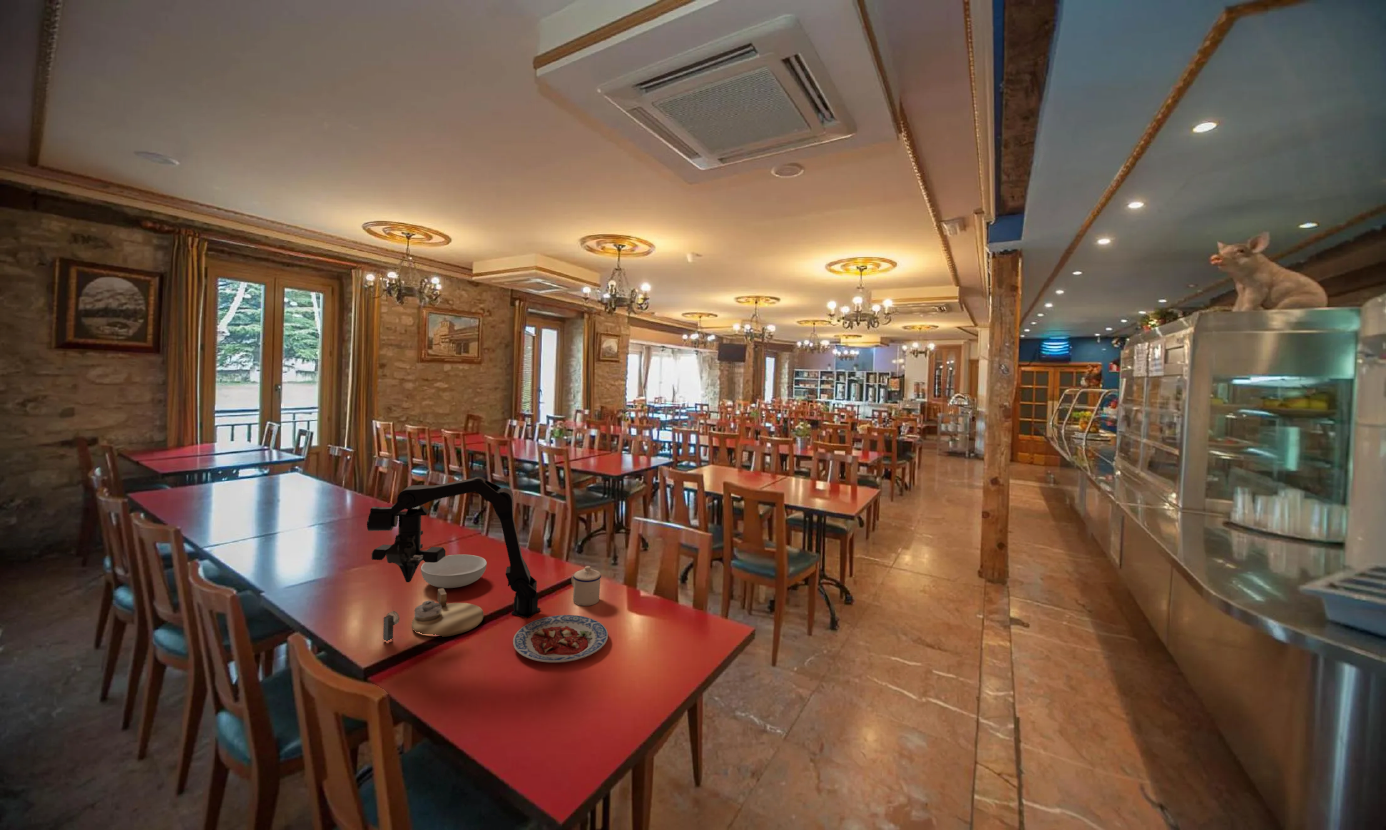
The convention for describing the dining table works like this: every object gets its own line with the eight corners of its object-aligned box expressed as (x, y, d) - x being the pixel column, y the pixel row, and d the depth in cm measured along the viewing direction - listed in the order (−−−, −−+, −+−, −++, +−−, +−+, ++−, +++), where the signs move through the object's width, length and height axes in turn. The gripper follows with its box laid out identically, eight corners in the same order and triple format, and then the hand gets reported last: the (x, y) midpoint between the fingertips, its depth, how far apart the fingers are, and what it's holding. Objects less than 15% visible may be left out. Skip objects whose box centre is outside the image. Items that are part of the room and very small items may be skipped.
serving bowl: (469, 597, 166) (470, 577, 165) (407, 593, 166) (407, 573, 166) (495, 573, 187) (496, 555, 186) (440, 570, 187) (440, 552, 187)
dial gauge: (398, 640, 137) (399, 612, 137) (390, 644, 135) (391, 616, 134) (388, 637, 138) (389, 609, 138) (380, 641, 136) (381, 613, 135)
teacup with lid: (605, 600, 169) (607, 566, 169) (584, 609, 162) (586, 574, 161) (581, 590, 177) (583, 557, 176) (561, 598, 169) (562, 564, 169)
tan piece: (497, 613, 154) (497, 598, 154) (449, 642, 136) (449, 625, 136) (444, 601, 161) (444, 585, 160) (391, 627, 143) (392, 610, 142)
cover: (446, 613, 150) (447, 600, 150) (427, 623, 144) (428, 609, 143) (428, 608, 152) (428, 595, 152) (408, 618, 146) (409, 605, 146)
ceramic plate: (508, 674, 125) (509, 662, 125) (516, 624, 150) (516, 615, 150) (612, 664, 132) (612, 653, 132) (603, 619, 157) (603, 609, 157)
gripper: (359, 536, 138) (358, 591, 139) (428, 539, 139) (426, 594, 140) (383, 525, 149) (382, 576, 150) (447, 528, 150) (445, 579, 151)
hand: (408, 581), depth 147 cm, fingers closed
